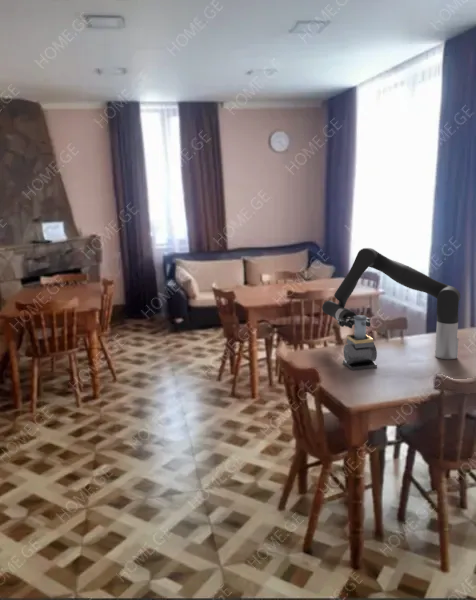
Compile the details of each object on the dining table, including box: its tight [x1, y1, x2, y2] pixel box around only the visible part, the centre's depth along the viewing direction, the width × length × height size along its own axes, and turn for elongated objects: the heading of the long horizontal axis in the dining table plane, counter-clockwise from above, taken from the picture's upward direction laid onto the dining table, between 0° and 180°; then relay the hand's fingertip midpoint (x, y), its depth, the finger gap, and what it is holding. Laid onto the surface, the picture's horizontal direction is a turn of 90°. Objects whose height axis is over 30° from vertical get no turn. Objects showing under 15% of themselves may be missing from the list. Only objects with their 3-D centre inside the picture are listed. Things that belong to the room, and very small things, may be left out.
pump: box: [353, 314, 368, 340], centre depth 227 cm, size 7×6×11 cm
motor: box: [342, 334, 378, 371], centre depth 229 cm, size 12×10×14 cm
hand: (360, 325), depth 227 cm, fingers open, 8 cm apart
